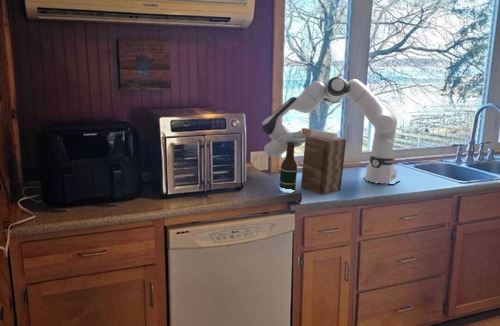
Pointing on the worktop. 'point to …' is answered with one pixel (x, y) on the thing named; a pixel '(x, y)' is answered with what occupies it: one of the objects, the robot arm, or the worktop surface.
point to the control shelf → (323, 164)
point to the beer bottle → (288, 169)
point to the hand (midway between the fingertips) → (308, 131)
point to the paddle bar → (319, 134)
